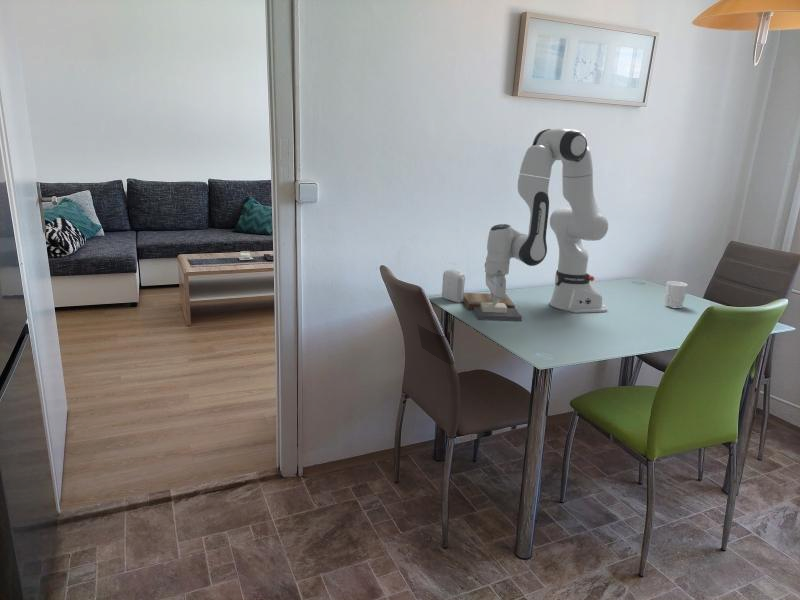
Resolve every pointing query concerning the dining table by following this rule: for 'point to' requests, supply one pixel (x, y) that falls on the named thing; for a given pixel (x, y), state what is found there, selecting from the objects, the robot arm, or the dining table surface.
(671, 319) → the dining table surface
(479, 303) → the walnut deck
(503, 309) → the cream card
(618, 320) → the dining table surface
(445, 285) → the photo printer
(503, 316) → the charcoal mat
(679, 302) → the white cup
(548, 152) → the robot arm
